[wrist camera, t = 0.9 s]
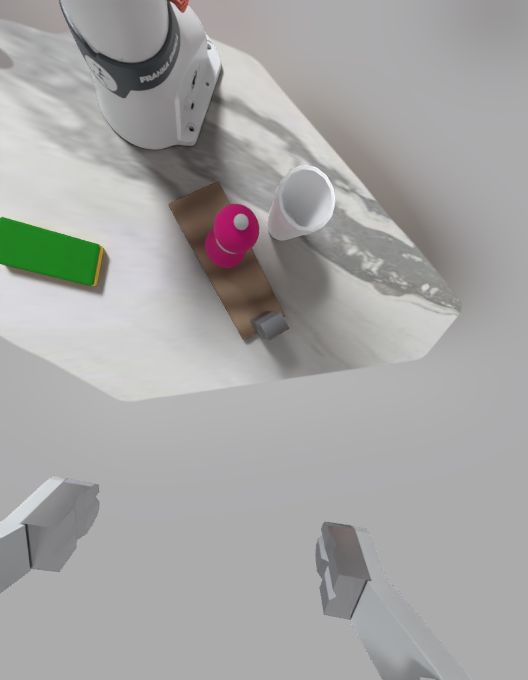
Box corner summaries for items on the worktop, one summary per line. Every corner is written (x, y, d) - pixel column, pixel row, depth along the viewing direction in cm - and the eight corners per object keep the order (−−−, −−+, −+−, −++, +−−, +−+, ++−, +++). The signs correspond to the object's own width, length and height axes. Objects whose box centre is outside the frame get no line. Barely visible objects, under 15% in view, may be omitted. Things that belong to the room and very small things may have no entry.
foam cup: (293, 193, 49) (323, 156, 37) (309, 238, 52) (343, 218, 39) (251, 209, 48) (268, 177, 36) (269, 255, 50) (291, 240, 38)
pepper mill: (248, 256, 49) (283, 229, 30) (220, 277, 48) (237, 264, 29) (226, 224, 47) (247, 173, 28) (196, 246, 46) (197, 209, 27)
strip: (169, 207, 44) (158, 176, 33) (218, 184, 46) (222, 147, 35) (242, 339, 51) (253, 349, 40) (282, 316, 53) (303, 320, 42)
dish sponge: (10, 220, 40) (-2, 215, 37) (105, 247, 43) (99, 244, 41) (4, 264, 40) (-8, 261, 38) (97, 287, 44) (91, 286, 42)
